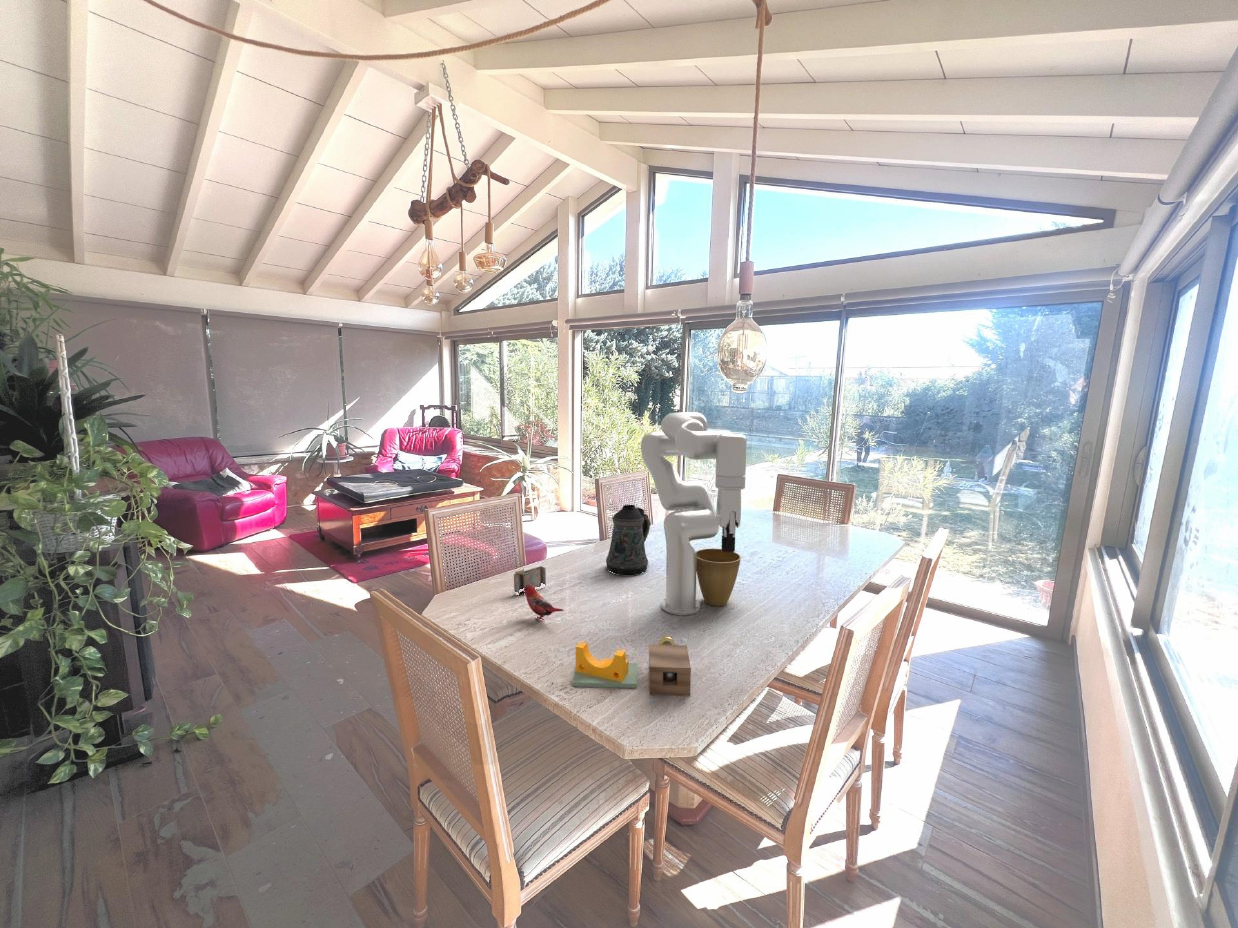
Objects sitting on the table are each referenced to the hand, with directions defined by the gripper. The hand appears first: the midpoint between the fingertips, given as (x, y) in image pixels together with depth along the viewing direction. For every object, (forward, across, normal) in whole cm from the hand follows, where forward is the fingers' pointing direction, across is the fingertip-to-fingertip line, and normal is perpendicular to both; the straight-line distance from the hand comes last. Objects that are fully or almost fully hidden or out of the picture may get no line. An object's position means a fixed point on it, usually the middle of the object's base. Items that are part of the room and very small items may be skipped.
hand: (728, 550), depth 128 cm
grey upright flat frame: (+28, -36, -61) cm, 76 cm away
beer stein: (+27, -61, -28) cm, 72 cm away
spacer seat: (+27, +15, -31) cm, 44 cm away
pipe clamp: (+26, +15, -32) cm, 44 cm away
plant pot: (+27, -30, +2) cm, 41 cm away
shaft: (+25, +13, -16) cm, 33 cm away
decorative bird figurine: (+27, -13, -52) cm, 60 cm away
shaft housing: (+27, +17, -16) cm, 36 cm away
